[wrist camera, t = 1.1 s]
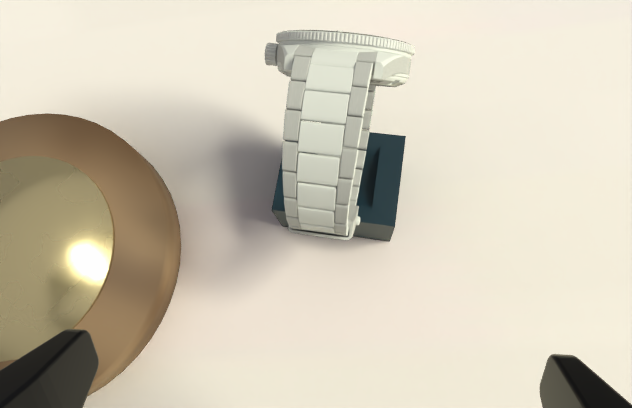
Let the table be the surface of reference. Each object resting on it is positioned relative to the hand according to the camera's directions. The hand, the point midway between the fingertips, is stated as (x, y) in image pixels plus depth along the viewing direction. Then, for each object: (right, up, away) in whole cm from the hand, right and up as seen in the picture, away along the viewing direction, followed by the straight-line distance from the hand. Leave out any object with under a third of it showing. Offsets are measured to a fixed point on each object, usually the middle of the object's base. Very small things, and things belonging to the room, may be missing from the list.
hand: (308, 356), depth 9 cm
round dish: (-14, 0, +15) cm, 21 cm away
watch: (+2, +4, +15) cm, 16 cm away
